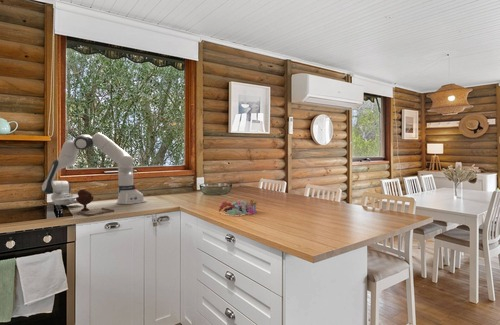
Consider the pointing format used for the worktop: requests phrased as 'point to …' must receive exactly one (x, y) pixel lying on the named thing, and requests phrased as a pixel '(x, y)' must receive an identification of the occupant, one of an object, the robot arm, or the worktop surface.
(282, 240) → the worktop surface
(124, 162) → the robot arm
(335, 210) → the worktop surface
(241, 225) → the worktop surface
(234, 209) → the coral reef ornament
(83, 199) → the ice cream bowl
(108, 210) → the walnut bay
